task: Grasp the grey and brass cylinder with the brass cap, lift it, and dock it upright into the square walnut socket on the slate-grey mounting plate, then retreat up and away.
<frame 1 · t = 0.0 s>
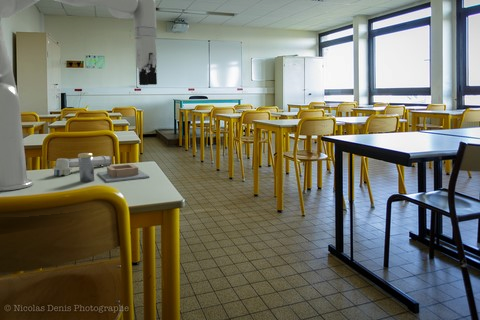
hand: (147, 84, 140), 31 cm above the table, tool pointing down, fingers open, 9 cm apart
white long slender part: (84, 171, 149), on the table
grey and brass cylinder: (87, 180, 130), on the table
socket block: (122, 175, 138), on the table
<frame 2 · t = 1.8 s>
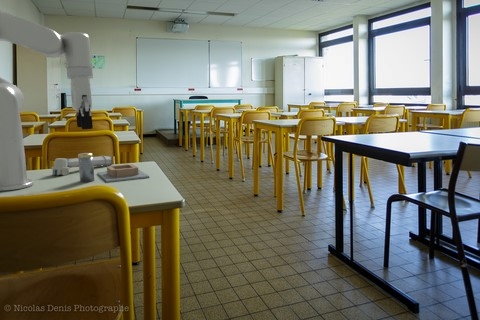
hand: (84, 127, 128), 17 cm above the table, tool pointing down, fingers open, 9 cm apart
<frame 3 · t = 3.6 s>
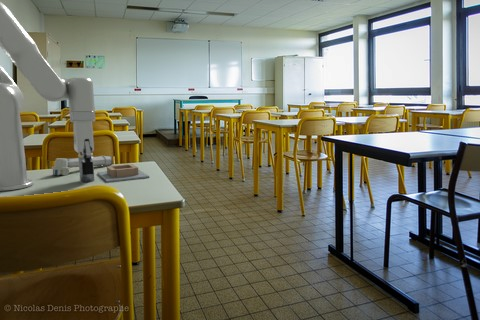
hand: (86, 172, 130), 3 cm above the table, tool pointing down, fingers closed on grey and brass cylinder, 4 cm apart
grey and brass cylinder: (87, 180, 130), on the table, touching gripper
everything else where it was.
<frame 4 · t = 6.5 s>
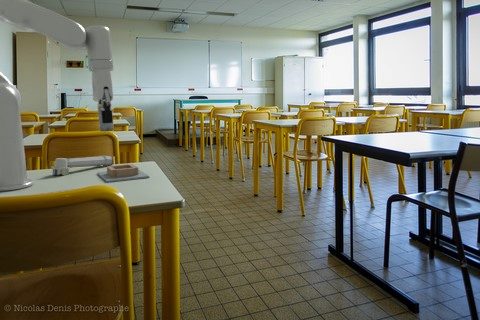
hand: (106, 122, 132), 19 cm above the table, tool pointing down, fingers closed on grey and brass cylinder, 4 cm apart
grey and brass cylinder: (106, 130, 132), point 16 cm above the table, touching gripper
everything else where it was.
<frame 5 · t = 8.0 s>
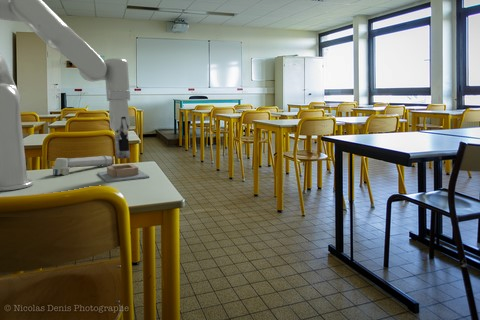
hand: (122, 149, 137), 9 cm above the table, tool pointing down, fingers closed on grey and brass cylinder, 4 cm apart
grey and brass cylinder: (123, 157, 137), point 6 cm above the table, touching gripper
everything else where it was.
when the fingers open (4 cm above the table, at t = 9.3 s): grey and brass cylinder stays where it is, resting on socket block.
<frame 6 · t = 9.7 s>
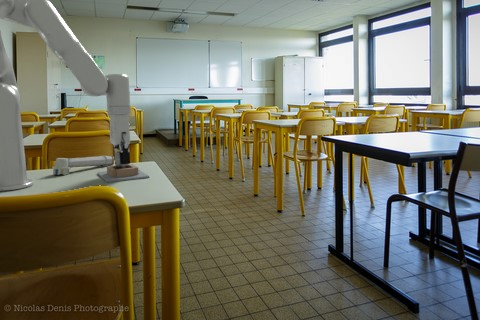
hand: (122, 161, 137), 5 cm above the table, tool pointing down, fingers open, 8 cm apart
grey and brass cylinder: (122, 174, 138), point 1 cm above the table, touching socket block
everything else where it was.
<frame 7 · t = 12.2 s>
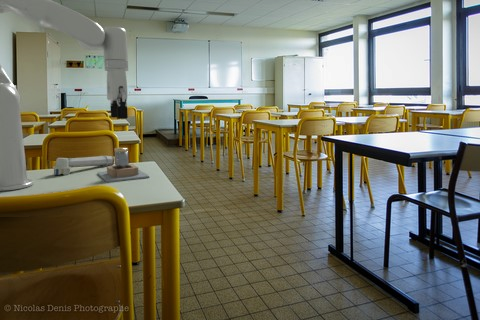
hand: (119, 117, 134), 20 cm above the table, tool pointing down, fingers open, 9 cm apart
nothing on the table moved.
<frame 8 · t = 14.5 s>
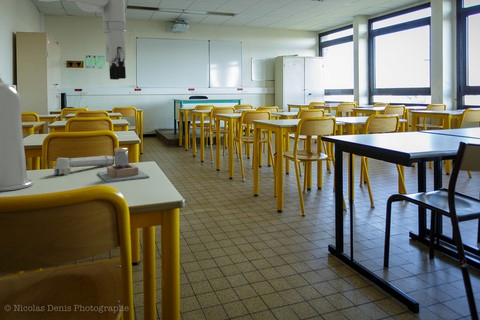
hand: (117, 79, 140), 33 cm above the table, tool pointing down, fingers open, 9 cm apart
at the end: grey and brass cylinder 0.0 cm off-centre on the socket block, point 0.6 cm above the socket block's base; grey and brass cylinder tilted 0°; the gripper is holding nothing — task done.
